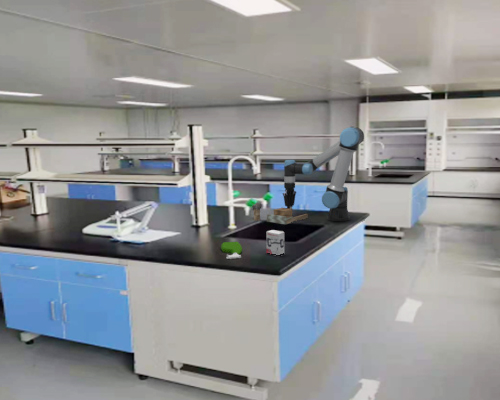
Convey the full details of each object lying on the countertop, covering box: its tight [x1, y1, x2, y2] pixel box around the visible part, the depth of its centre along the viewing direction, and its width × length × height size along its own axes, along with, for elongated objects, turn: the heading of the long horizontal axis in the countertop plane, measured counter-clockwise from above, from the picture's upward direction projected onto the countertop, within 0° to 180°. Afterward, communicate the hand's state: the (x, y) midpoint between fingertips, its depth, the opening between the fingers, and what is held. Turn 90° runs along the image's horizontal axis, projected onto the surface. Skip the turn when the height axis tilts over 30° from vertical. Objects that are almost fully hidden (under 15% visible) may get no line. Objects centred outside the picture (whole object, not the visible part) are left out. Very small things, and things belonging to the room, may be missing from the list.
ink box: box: [265, 229, 285, 256], centre depth 231 cm, size 8×5×12 cm, turn 48°
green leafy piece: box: [220, 241, 243, 260], centre depth 236 cm, size 3×11×24 cm
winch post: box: [251, 202, 262, 222], centre depth 316 cm, size 6×4×14 cm
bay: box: [266, 213, 309, 225], centre depth 316 cm, size 16×26×5 cm, turn 138°
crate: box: [273, 207, 293, 218], centre depth 312 cm, size 9×9×8 cm
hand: (289, 215), depth 318 cm, fingers closed
